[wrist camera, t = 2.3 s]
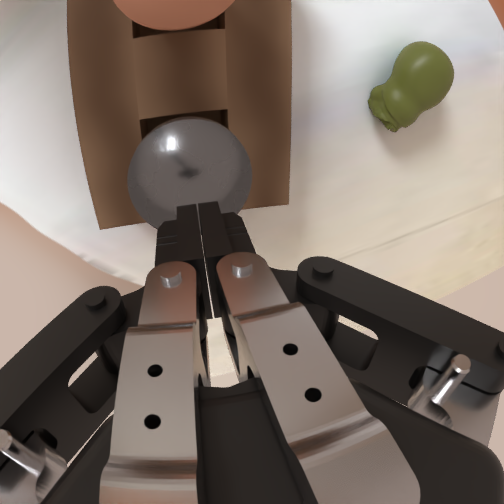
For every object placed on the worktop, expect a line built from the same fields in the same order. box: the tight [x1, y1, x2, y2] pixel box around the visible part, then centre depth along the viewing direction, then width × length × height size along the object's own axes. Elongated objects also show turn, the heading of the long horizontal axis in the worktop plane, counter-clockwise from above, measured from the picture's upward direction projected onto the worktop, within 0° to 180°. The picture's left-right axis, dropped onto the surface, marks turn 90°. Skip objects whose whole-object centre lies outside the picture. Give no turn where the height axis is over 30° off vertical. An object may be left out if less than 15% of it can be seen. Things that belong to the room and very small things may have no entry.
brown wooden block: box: [67, 0, 292, 230], centre depth 18 cm, size 14×20×5 cm
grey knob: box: [127, 116, 252, 234], centre depth 17 cm, size 6×6×6 cm
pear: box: [368, 41, 454, 132], centre depth 22 cm, size 6×5×10 cm
